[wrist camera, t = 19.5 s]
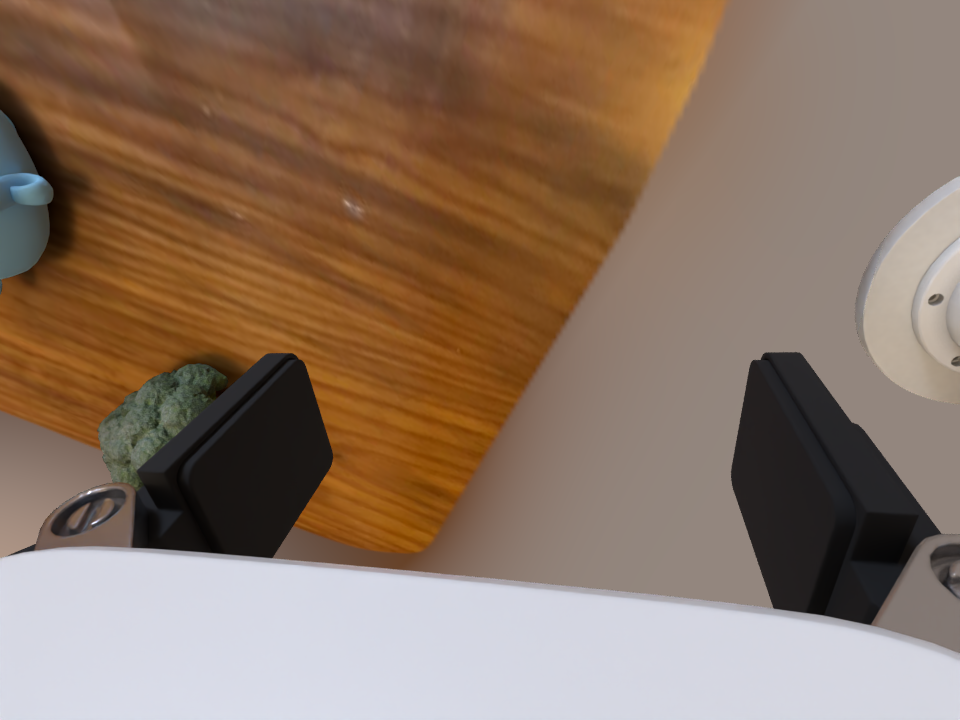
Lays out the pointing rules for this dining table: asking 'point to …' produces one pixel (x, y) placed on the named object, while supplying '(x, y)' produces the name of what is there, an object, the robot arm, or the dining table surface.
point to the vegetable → (155, 418)
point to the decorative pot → (20, 205)
